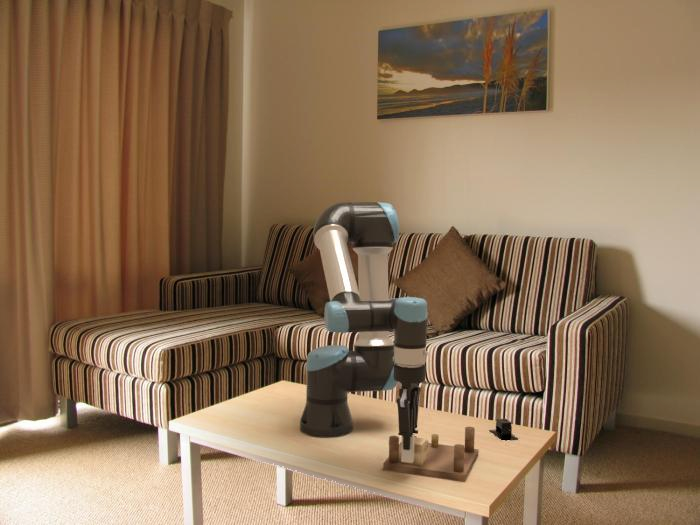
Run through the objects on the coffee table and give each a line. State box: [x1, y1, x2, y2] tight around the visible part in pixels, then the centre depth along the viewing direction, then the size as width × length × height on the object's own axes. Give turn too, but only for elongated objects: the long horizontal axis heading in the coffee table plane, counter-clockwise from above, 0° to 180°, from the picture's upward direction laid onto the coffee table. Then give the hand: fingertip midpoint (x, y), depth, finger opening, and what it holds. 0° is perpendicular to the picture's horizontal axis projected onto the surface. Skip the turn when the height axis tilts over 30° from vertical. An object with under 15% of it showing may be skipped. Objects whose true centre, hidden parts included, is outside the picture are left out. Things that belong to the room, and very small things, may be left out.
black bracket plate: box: [488, 418, 519, 442], centre depth 199 cm, size 12×7×5 cm, turn 12°
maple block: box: [402, 436, 428, 465], centre depth 175 cm, size 5×5×5 cm
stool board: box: [382, 426, 479, 483], centre depth 178 cm, size 20×18×8 cm
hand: (407, 461), depth 169 cm, fingers closed
